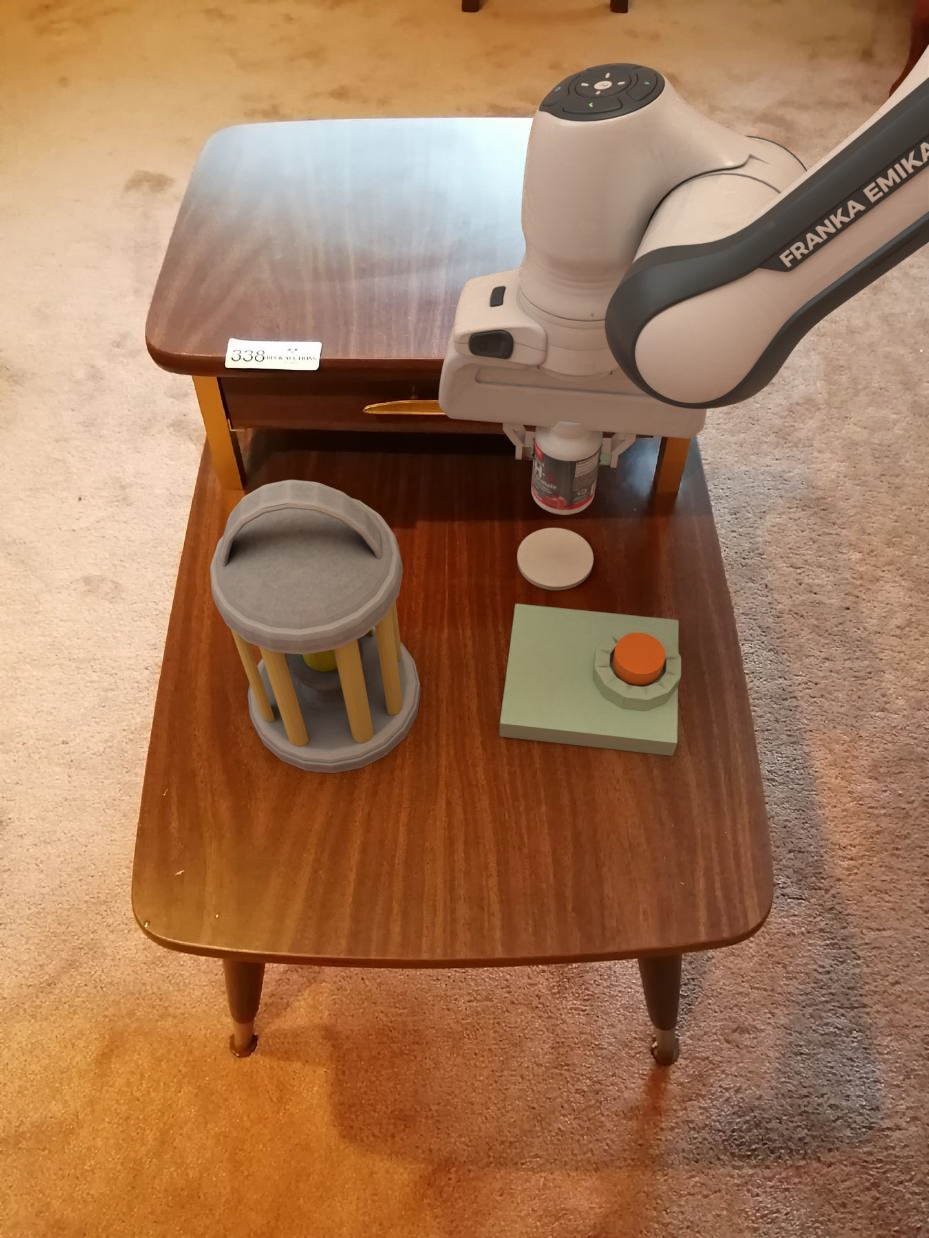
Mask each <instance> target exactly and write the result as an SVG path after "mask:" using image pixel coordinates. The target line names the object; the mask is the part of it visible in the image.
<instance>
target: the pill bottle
mask: <svg viewBox="0 0 929 1238" xmlns="http://www.w3.org/2000/svg"><path fill="white" fill-rule="evenodd" d="M534 432H535V439H534V460H533V461H532V472H531V473H532V474H531V496H532V497H533V500H534V502H535V503H536V504H537V505H538V506H539V507H540V508H542V509H543V510H545V511H547V512H549V513H552V514H555V515H561V516H562V515H563V516H565V515H566V516H567V515H574V514H577V513H581V512H582V511H584V510H585V509H586V508H588V506H590V504H591V503H592V502H593V500H594V497H595V492H596V486H597V479H598V472H599V467H600V466H598V464H599V458H600V450H601V447H602V440H603V438H604V436H603V435H604V434H603V433H604V432H603V431H591V430H584V429H583V427H582V425H581V423H574V422H563V421H559V422H558V423H557V424H556V425H555V427H544V426H535V431H534Z"/></svg>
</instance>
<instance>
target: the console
mask: <svg viewBox="0 0 929 1238" xmlns="http://www.w3.org/2000/svg"><path fill="white" fill-rule="evenodd" d="M679 627H680V625H679V619H671V618H662V617H653V616H642V615H631V614H622V613H614V612H613V613H611V612H603V611H602V612H601V611H592V610H582V609H573V608H562V607H555V606H554V607H553V606H543V605H532V604H523V603H515V604H514V611H513V619H512V627H511V635H510V642H509V649H508V650H509V651H508V658H507V665H506V673H505V681H504V687H503V695H502V703H501V711H500V719H499V732H498V733H499V735H498V737H501V738H508V739H509V738H510V739H520V740H527V741H535V742H536V741H537V742H544V743H554V744H563V745H571V746H580V747H589V748H597V749H607V750H616V751H625V752H634V753H643V754H651V755H659V756H668V757H673V756H674V754H675V751H676V748H677V746H678V736H679V735H678V731H679V730H678V729H679V728H678V726H679V725H678V722H679V721H678V717H679V716H678V715H679V713H678V712H679V684H680V681H681V678H682V656H681V655H680V654H679ZM631 633H645V634H648V635H651V636H653V637H654V638H656V639H657V640H658V641H659V642H660V643H661V644H662V646H663V648H664V650H665V661H664V665H663V668H662V672H661V674H660V676H659V677H658V678H657V679H656V680H655V681H654V682H652V683H650V684H647V685H633V684H629V683H627V682H625V681H623V680H622V679H621V678H620V677H619V676H618V675H617V674H616V672H615V670H614V668H613V657H614V652H615V647H616V645H617V643H618V641H619V640H620V639H621V638H622V637H624V636H626V635H628V634H631Z"/></svg>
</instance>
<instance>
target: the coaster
mask: <svg viewBox="0 0 929 1238" xmlns="http://www.w3.org/2000/svg"><path fill="white" fill-rule="evenodd" d="M516 555H517V556H516V564H517V567H518V571H519V572H520V574H521V575H522V576H523V578H524V579H525V580H527V581H528V582H529V583H531V584H532V585H533V586H535V587H537V588H540V589H544V590H548V591H565V590H569V589H573V588H575V587H578V586H579V585H581V584H582V583H583V582H585V580H587V579H588V577H589V576H590V575H591V573H592V570H593V566H594V552H593V549H592V547H591V546H590V544H589V542H588V541H587V540H586V539H585V538H584V537H582V536H581V535H580V534H579V533H576V532H574V531H573V530H570V529H566V528H561V527H546V528H542V529H538V530H535V531H534V532H532V533H530V534H529V535H527V536H526V537H525V538H524V539H523V540H522V541H521V543H520V544H519V546H518V548H517V554H516Z"/></svg>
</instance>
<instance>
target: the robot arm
mask: <svg viewBox="0 0 929 1238" xmlns="http://www.w3.org/2000/svg"><path fill="white" fill-rule="evenodd" d="M534 113H535V114H534V116H533V118H532V122H531V125H530V129H529V134H528V141H527V145H526V153H525V162H524V168H523V170H524V171H523V180H522V190H521V191H522V193H521V209H520V225H521V230H522V234H523V237H524V242H525V251H524V254H523V257H522V260H521V263H520V266H519V267H516V268H512V269H508V270H502V271H498V272H494V273H490V274H485V275H480V276H476V277H472V278H470V279H468V280H467V281H466V282H465V284H464V286H463V289H462V290H461V293H460V295H459V298H458V302H457V305H456V309H455V313H454V314H455V315H454V321H453V324H452V327H451V330H450V333H449V337H448V341H447V345H446V349H445V354H444V360H443V363H442V367H441V373H440V381H439V387H438V407H439V409H440V410H441V411H442V412H443V413H444V414H445V416H447V417H448V418H449V419H451V420H461V421H462V420H463V421H473V422H474V421H476V422H487V423H498V424H502V431H503V432H504V434H505V435H506V436H507V437H508V439H509V440H510V442H512V444H513V445H514V446H515V460H519V461H532V462H533V460H534V439H535V431H530V430H527V429H526V428H525V427H524V426H535V427H536V426H544V427H555V425H556V424H557V423H558V422H559V421H563V422H574V423H581V425H582V427H583V429H584V430H591V431H602V432H603V433H615V434H613V435H612V437H603V440H602V447H601V450H600V458H599V464H598V466H599V467H602V468H611V469H617V467H618V460H619V456H620V455H621V454H623V453H624V452H625V451H626V450H627V449H628V448H630V447H631V446H632V445H633V444H634V443H635V442H636V438H637V435H641V436H651V437H664V438H673V439H686V440H687V439H691V438H694V437H695V436H696V435H698V434H699V433H700V432H702V431H703V430H704V428H705V423H706V418H707V411H708V410H710V409H719V408H725V407H729V406H732V405H736V404H739V403H741V402H744V401H746V400H748V399H750V398H752V397H754V396H756V395H757V394H758V393H760V392H761V391H763V389H765V388H766V387H767V386H768V385H769V384H770V383H771V382H772V381H773V380H774V378H775V377H776V376H777V375H778V373H779V372H780V370H781V369H782V367H783V366H784V365H785V363H786V361H787V360H788V358H789V357H790V355H791V354H792V352H793V351H794V349H795V348H796V347H797V346H798V344H799V343H800V342H801V341H802V340H803V338H804V337H805V336H806V335H807V334H808V333H809V332H810V331H811V330H812V329H813V328H814V327H815V326H816V325H818V324H819V323H820V322H821V321H822V320H824V319H825V318H826V317H828V315H830V314H831V313H833V312H834V311H835V310H836V309H838V308H840V307H841V306H842V305H843V304H845V303H846V302H848V301H849V300H850V299H852V298H853V297H855V296H856V295H858V294H860V293H861V292H862V291H863V290H865V289H866V288H867V287H869V286H870V285H871V284H873V283H874V282H875V281H877V280H878V279H880V278H881V277H883V276H884V275H885V274H887V273H888V272H889V271H891V270H893V269H894V268H895V267H896V266H898V265H899V264H901V263H902V262H903V261H905V260H906V259H907V258H909V257H910V256H912V255H913V254H914V253H916V252H917V251H919V250H920V249H922V248H923V247H924V246H926V245H927V244H929V44H928V45H927V46H926V48H925V50H924V52H923V53H922V55H921V56H920V58H919V59H918V61H917V62H916V64H915V65H914V66H913V68H912V69H911V71H910V72H909V73H908V75H907V76H906V77H905V78H904V80H903V81H902V83H901V84H900V85H899V86H898V87H897V88H896V90H894V92H893V93H892V94H891V96H889V98H888V99H887V100H886V101H885V102H884V104H882V105H881V106H880V108H878V109H877V110H876V111H875V112H874V113H873V115H871V116H870V117H869V118H868V119H867V120H866V121H865V122H864V123H863V124H862V125H860V126H858V128H856V129H855V130H854V131H853V132H852V133H851V134H850V135H848V136H847V137H846V138H845V139H843V140H842V141H841V142H840V143H839V144H838V145H836V146H835V147H834V148H833V149H832V150H830V151H829V152H828V153H827V154H826V155H824V156H823V157H822V158H821V159H819V160H818V161H817V162H816V163H814V165H812V166H811V167H810V168H809V169H807V167H806V166H805V165H804V163H803V162H802V161H801V160H800V159H799V158H798V156H796V155H795V154H794V153H793V152H791V150H789V149H787V148H786V147H785V146H783V145H782V144H780V143H777V142H775V141H773V140H770V139H767V138H764V137H760V136H753V135H745V134H744V135H743V134H742V133H739V132H738V131H735V130H732V129H731V128H728V127H726V126H724V125H722V124H720V123H719V122H716V121H714V120H713V119H711V118H710V117H707V115H705V114H703V113H702V112H700V111H699V110H697V109H696V108H695V107H693V106H692V105H691V104H689V103H688V102H687V101H686V100H685V99H683V98H682V97H681V95H680V94H679V92H677V90H676V89H675V87H674V86H673V85H672V83H671V82H670V81H669V80H668V78H667V77H666V76H665V75H664V74H662V73H661V72H660V71H657V70H656V69H654V68H652V67H650V66H646V65H642V64H641V65H640V64H637V63H631V62H612V63H604V64H599V65H594V66H591V67H586V69H583V70H581V71H577V72H576V73H574V74H570V75H568V76H566V77H565V78H564V79H562V80H561V81H560V82H558V83H557V84H556V85H555V86H554V87H553V88H552V89H551V90H550V91H549V92H548V93H547V94H546V95H545V96H544V98H543V99H542V101H541V102H540V104H539V105H538V107H537V109H536V111H535V112H534Z"/></svg>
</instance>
